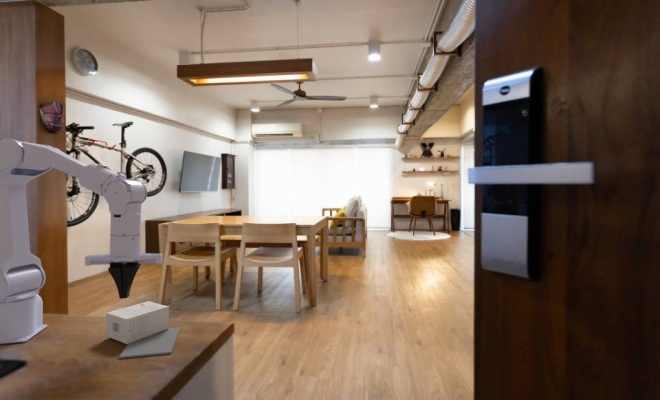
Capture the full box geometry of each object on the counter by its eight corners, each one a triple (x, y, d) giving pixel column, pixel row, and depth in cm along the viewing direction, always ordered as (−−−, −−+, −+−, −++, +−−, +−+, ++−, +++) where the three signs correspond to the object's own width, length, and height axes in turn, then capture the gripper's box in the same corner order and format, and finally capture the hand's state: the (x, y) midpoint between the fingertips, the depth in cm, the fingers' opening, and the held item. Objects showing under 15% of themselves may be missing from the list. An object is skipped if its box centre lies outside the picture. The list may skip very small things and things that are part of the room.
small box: (125, 345, 74) (169, 329, 84) (126, 318, 74) (170, 305, 84) (105, 337, 78) (149, 322, 88) (105, 312, 78) (149, 300, 88)
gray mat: (137, 332, 82) (137, 330, 82) (180, 328, 85) (180, 327, 85) (119, 358, 69) (119, 356, 69) (171, 353, 72) (171, 351, 72)
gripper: (79, 237, 70) (77, 304, 70) (158, 236, 74) (157, 300, 74) (92, 233, 76) (91, 295, 76) (164, 233, 80) (163, 291, 81)
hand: (124, 297), depth 76 cm, fingers closed
